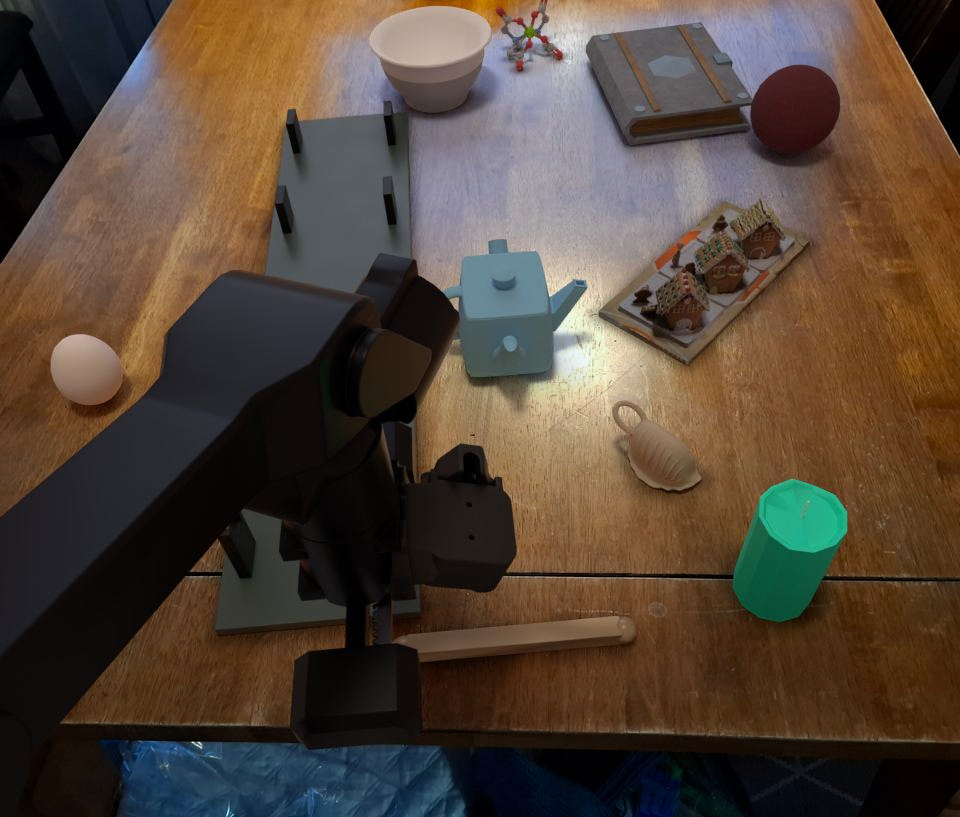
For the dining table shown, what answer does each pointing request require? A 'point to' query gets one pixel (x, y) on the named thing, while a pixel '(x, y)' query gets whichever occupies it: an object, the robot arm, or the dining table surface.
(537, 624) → the beige rounded rod
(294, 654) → the dining table surface
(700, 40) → the book
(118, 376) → the egg
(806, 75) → the decorative ball
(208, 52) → the dining table surface
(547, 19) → the molecular model
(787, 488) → the candle
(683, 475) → the decorative ornament
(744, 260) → the gingerbread house
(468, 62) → the bowl
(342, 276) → the rack
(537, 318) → the teapot
